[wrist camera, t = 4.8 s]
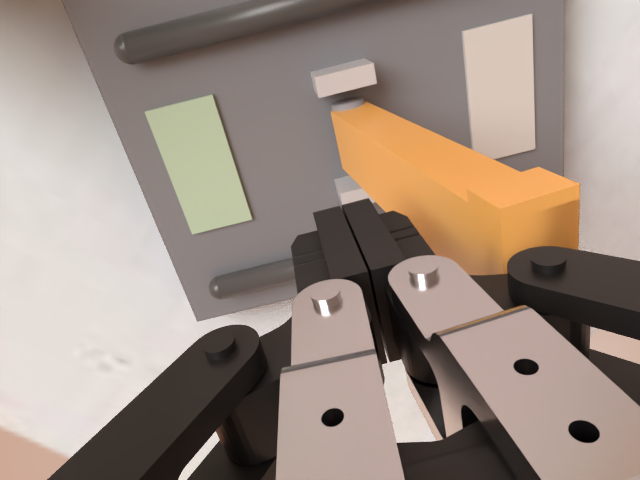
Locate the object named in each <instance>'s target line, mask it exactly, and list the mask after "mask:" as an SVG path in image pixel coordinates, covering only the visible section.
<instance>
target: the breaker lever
mask: <svg viewBox="0 0 640 480" xmlns="http://www.w3.org/2000/svg"><path fill="white" fill-rule="evenodd" d="M331 107H332V111H330V112H331V117H332V122H333V126H334V131H335V136H336V140H337V145H338V150H339V154H340V159H341V164H342V168H343V169H344V170H345V172H346V173H347V174H348V175H349V176H350V177H351V178H352V179H353V180H354V181H355V182H356V183H357V184H358V185H359V186H360V187H361V188H362V189H363V190H364V191H365V192H366V193H367V194H368V195H369V196H370V197H371V198H372V199H373V200H374V201H375V202H376V203H377V204H378V205H379V206H380V207H381V208H382V209H383V210H384V211H385V212H390V211H396V212H398V213H400V214H403V215H405V216H407V217H408V218H409V220H410V221H411V222H412V224H413V225H414V227H415V228H416V229H417V230H418V232H419V234H420V235H421V236H422V237H423V239H424V240H425V241H426V243H427V244H428V245H429V247H430V248H431V249H432V251H433V252H434V253H435V255H436V256H442V257H446V258H449V259H451V260H453V261H455V262H456V263H457V264H458V265H459V266H460V267H461V268H462V269H463V270H464V271H465V272H466V273H467V274H468V275H496V274H507V263H508V261H509V259H510V258H511V257H512V256H513V255H514V254H516V253H518V252H520V251H522V250H525V249H528V248H533V247H540V246H558V247H565V248H570V249H576V250H578V244H579V198H580V184H579V183H577V182H574V181H572V180H569V179H567V178H565V177H562V176H560V175H557V174H555V173H553V172H550V171H548V170H545V169H543V168H541V167H536V168H533V169H529V170H526V171H523V172H520V171H518V170H515V169H513V168H511V167H509V166H507V165H504V164H502V163H500V162H498V161H496V160H493V159H491V158H489V157H487V156H485V155H482V154H480V153H478V152H476V151H474V150H471V149H469V148H467V147H465V146H463V145H461V144H458V143H456V142H454V141H452V140H450V139H447V138H445V137H443V136H441V135H439V134H436V133H434V132H432V131H430V130H428V129H425V128H423V127H421V126H419V125H417V124H415V123H412V122H410V121H408V120H406V119H404V118H401V117H399V116H397V115H395V114H393V113H390V112H388V111H386V110H384V109H382V108H379V107H377V106H375V105H373V104H371V103H368V102H366V101H365V102H364V98H363V97H351V98H346V99H342V100H339V101H336V102H334V103H332V104H331Z"/></svg>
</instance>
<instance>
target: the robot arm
mask: <svg viewBox="0 0 640 480" xmlns="http://www.w3.org/2000/svg"><path fill="white" fill-rule="evenodd" d="M341 207H342V209H341ZM341 207H340V206H336V207H332V208H328V209H324V210H320V211H317V212H313V216H314V220H315V224H316V227H317V230H316V231H313V232H309V233H305V234H301V235H297V237H296V239H295V240H294V242H293V244H292V245H291V251H292V258H293V266H294V273H295V280H296V287H297V294H298V295H297V296H296V297H295V299H294V301H293V304H292V317H291V318H290V319H289V320H288V321H287V322H285V323H284V324H283V325H281V326H280V327H278V328H276V329H275V330H273V331H271V332H269V333H267V334H265V335H263V336H261V337H259V335H258V333H257V332H256V331H255V330H254V329H253V328H251V327H249V326H246V325H229V326H225V327H221V328H218V329H216V330H213V331H211V332H209V333H207V334H205V335H204V336H202V337H201V338H200V339H198V340H197V341H196V342H195V343H194V344H193V345H192V346H190V347H189V348H188V349H187V350H186V351H185V352H184V353H183V354H182V355H181V356H180V357H179V358H178V359H177V360H175V361H174V362H173V363H172V364H171V365H170V366H169V367H168V368H167V369H166V370H165V371H164V372H163V373H161V374H160V375H159V376H158V377H157V378H156V379H155V380H154V381H153V382H152V383H151V384H150V385H149V386H147V387H146V388H145V389H144V390H143V391H142V392H141V393H140V394H139V395H138V396H137V397H136V398H135V399H133V400H132V401H131V402H130V403H129V404H128V405H127V406H126V407H125V408H124V409H123V410H122V411H121V412H120V413H118V414H117V415H116V416H115V417H114V418H113V419H112V420H111V421H110V422H109V423H108V424H107V425H106V426H104V427H103V428H102V429H101V430H100V431H99V432H98V433H97V434H96V435H95V436H94V437H93V438H92V439H90V440H89V441H88V442H87V443H86V444H85V445H84V446H83V447H82V448H81V449H80V450H79V451H78V452H76V453H75V454H74V455H73V456H72V457H71V458H70V459H69V460H68V461H67V462H66V463H65V464H64V465H63V466H61V467H60V468H59V469H58V470H57V471H56V472H55V473H54V474H53V475H52V476H51V477H50V478H49V479H47V480H178V478H179V476H180V474H181V472H182V470H183V469H184V468H185V466H186V465H187V464H188V463H189V461H190V460H191V459H192V458H193V457H194V456H195V454H196V453H197V452H198V451H199V450H200V449H201V447H202V446H203V445H204V444H205V443H206V442H207V440H208V439H209V438H210V437H211V436H212V434H213V433H214V432H215V431H216V432H217V435H218V437H219V439H220V441H219V442H218V443H217V444H216V445H215V447H214V448H213V449H212V450H211V451H210V453H209V454H208V455H207V456H206V458H205V459H204V460H203V461H202V462H201V464H200V465H199V466H198V467H197V468H196V470H195V471H194V472H193V473H192V474H191V476H190V477H189V478H188V479H187V480H640V364H636V363H633V362H630V361H627V360H624V359H621V358H617V357H614V356H611V355H608V354H605V353H601V352H598V351H595V350H592V349H589V347H590V326H591V327H595V328H598V329H602V330H606V331H609V332H613V333H616V334H620V335H623V336H627V337H630V338H634V339H637V340H640V261H636V260H630V259H625V258H619V257H614V256H608V255H603V254H597V253H592V252H586V251H581V250H576V249H570V248H565V247H558V246H540V247H533V248H528V249H525V250H522V251H520V252H518V253H516V254H514V255H513V256H512V257H511V258H510V259H509V261H508V263H507V274H496V275H468V274H467V273H466V272H465V271H464V270H463V269H462V268H461V267H460V266H459V265H458V264H457V263H456V262H455V261H453V260H451V259H449V258H446V257H442V256H436V255H435V253H434V252H433V251H432V249H431V248H430V247H429V245H428V244H427V243H426V241H425V240H424V239H423V237H422V236H421V235H420V234H419V232H418V230H417V229H416V228H415V227H414V225H413V224H412V222H411V221H410V220H409V218H408V217H407V216H405V215H403V214H400V213H398V212H396V211H390V212H386V213H382V214H378V212H377V210H376V209H375V207H374V205H373V204H372V202H371V201H370V199H369V198H367V199H363V200H359V201H355V202H351V203H347V204H343V205H341ZM384 348H385V350H384ZM385 351H386V353H387V356H388V358H389V361H390V362H392V361H396V360H400V359H402V361H403V364H404V366H405V371H406V376H407V381H408V386H409V389H410V391H411V393H412V395H413V397H414V398H415V400H416V402H417V404H418V406H419V408H420V410H421V412H422V414H423V416H424V418H425V420H426V421H427V423H428V425H429V427H430V429H431V431H432V433H433V435H434V437H435V439H436V441H433V442H409V443H396V438H395V434H394V430H393V425H392V421H391V416H390V412H389V408H388V403H387V399H386V394H385V390H384V386H383V385H384V374H383V369H382V364H385V363H387V359H386V355H385Z"/></svg>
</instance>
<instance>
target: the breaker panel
mask: <svg viewBox="0 0 640 480" xmlns="http://www.w3.org/2000/svg"><path fill="white" fill-rule="evenodd" d="M62 3H63V5H64V7H65V10H66V12H67V14H68V17H69V19H70V21H71V24H72V26H73V29H74V31H75V33H76V36H77V38H78V40H79V43H80V45H81V47H82V50H83V52H84V55H85V57H86V59H87V62H88V64H89V66H90V69H91V71H92V74H93V76H94V78H95V81H96V83H97V85H98V88H99V90H100V92H101V95H102V97H103V100H104V102H105V104H106V107H107V109H108V111H109V114H110V116H111V118H112V121H113V123H114V126H115V128H116V130H117V133H118V135H119V137H120V140H121V142H122V144H123V147H124V149H125V152H126V154H127V156H128V159H129V161H130V163H131V166H132V168H133V171H134V173H135V175H136V178H137V180H138V182H139V185H140V187H141V189H142V192H143V194H144V197H145V199H146V201H147V204H148V206H149V208H150V211H151V213H152V215H153V218H154V220H155V223H156V225H157V227H158V230H159V232H160V234H161V237H162V239H163V242H164V244H165V246H166V249H167V251H168V253H169V256H170V258H171V260H172V263H173V265H174V268H175V270H176V272H177V275H178V277H179V279H180V282H181V284H182V286H183V289H184V291H185V294H186V296H187V298H188V301H189V303H190V305H191V308H192V310H193V313H194V315H195V317H196V320H197V322H198V321H202V320H206V319H210V318H214V317H218V316H222V315H226V314H230V313H234V312H238V311H242V310H247V309H251V308H255V307H259V306H263V305H267V304H271V303H275V302H279V301H283V300H287V299H291V298H295V297H296V296H297V295H298V294H297V287H296V280H295V273H294V266H293V258H292V251H291V245H292V244H293V242H294V240H295V239H296V237H297V235H301V234H305V233H309V232H313V231H316V230H317V227H316V224H315V220H314V216H313V212H317V211H320V210H324V209H328V208H332V207H336V206H340V207H341V205H343V204H347V203H351V202H355V201H359V200H363V199H367V198H369V199H370V201H371V202H372V204H373V205H374V207H375V209H376V210H377V212H378V214H382V213H386V212H385V211H384V210H383V209H382V208H381V207H380V206H379V205H378V204H377V203H376V202H375V201H374V200H373V199H372V198H371V197H370V196H369V195H368V194H367V193H366V192H365V191H364V190H363V189H362V188H361V187H360V186H359V185H358V184H357V183H356V182H355V181H354V180H353V179H352V178H351V177H350V176H349V175H348V174H347V173H346V172H345V170H344V169H343V168H342V164H341V159H340V154H339V150H338V145H337V140H336V136H335V131H334V126H333V122H332V117H331V112H330V111H332V107H331V104H332V103H334V102H336V101H339V100H342V99H346V98H351V97H363V98H364V102H365V101H366V102H368V103H371V104H373V105H375V106H377V107H379V108H382V109H384V110H386V111H388V112H390V113H393V114H395V115H397V116H399V117H401V118H404V119H406V120H408V121H410V122H412V123H415V124H417V125H419V126H421V127H423V128H425V129H428V130H430V131H432V132H434V133H436V134H439V135H441V136H443V137H445V138H447V139H450V140H452V141H454V142H456V143H458V144H461V145H463V146H465V147H467V148H469V149H471V150H474V151H476V152H478V153H480V154H482V155H485V156H487V157H489V158H491V159H493V160H496V161H498V162H500V163H502V164H504V165H507V166H509V167H511V168H513V169H515V170H518V171H520V172H523V171H526V170H529V169H533V168H536V167H541V168H543V169H545V170H548V171H550V172H553V173H555V174H557V175H560V176H562V177H563V163H564V0H62ZM341 209H342V207H341Z"/></svg>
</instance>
